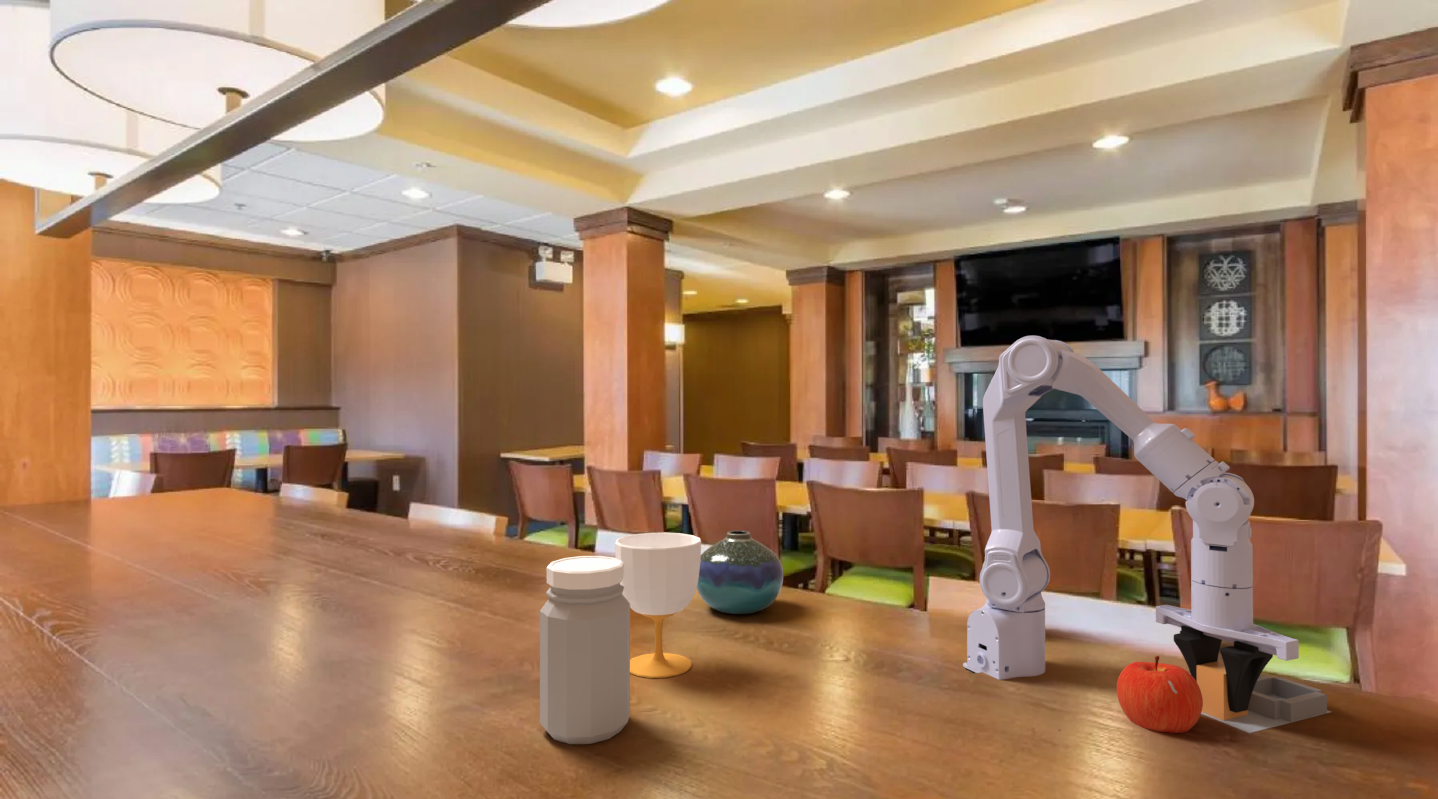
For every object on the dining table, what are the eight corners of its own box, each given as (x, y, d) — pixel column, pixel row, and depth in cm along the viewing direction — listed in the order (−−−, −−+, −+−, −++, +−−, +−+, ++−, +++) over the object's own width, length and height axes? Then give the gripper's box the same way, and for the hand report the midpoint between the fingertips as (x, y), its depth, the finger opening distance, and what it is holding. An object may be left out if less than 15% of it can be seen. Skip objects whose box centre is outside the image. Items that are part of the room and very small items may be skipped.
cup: (648, 646, 107) (648, 529, 107) (717, 660, 101) (717, 536, 101) (596, 671, 97) (596, 543, 97) (670, 688, 91) (670, 551, 91)
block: (1223, 720, 80) (1223, 674, 80) (1196, 709, 82) (1196, 665, 82) (1247, 714, 81) (1247, 669, 81) (1220, 704, 84) (1220, 660, 84)
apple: (1217, 749, 75) (1216, 670, 75) (1132, 742, 76) (1131, 666, 76) (1182, 716, 83) (1181, 645, 83) (1105, 711, 84) (1105, 641, 84)
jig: (1249, 740, 77) (1249, 713, 77) (1130, 691, 90) (1130, 669, 90) (1332, 718, 82) (1332, 693, 82) (1208, 675, 95) (1208, 654, 95)
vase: (728, 593, 137) (727, 522, 137) (799, 606, 128) (799, 530, 128) (676, 612, 124) (675, 534, 125) (751, 628, 115) (751, 544, 116)
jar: (642, 713, 84) (642, 556, 84) (611, 752, 74) (611, 575, 74) (563, 705, 86) (563, 552, 86) (523, 743, 76) (523, 570, 77)
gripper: (1316, 594, 77) (1317, 724, 77) (1183, 566, 90) (1184, 676, 90) (1273, 601, 74) (1274, 735, 74) (1143, 571, 87) (1143, 684, 87)
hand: (1222, 704), depth 82 cm, fingers closed on block, 3 cm apart
